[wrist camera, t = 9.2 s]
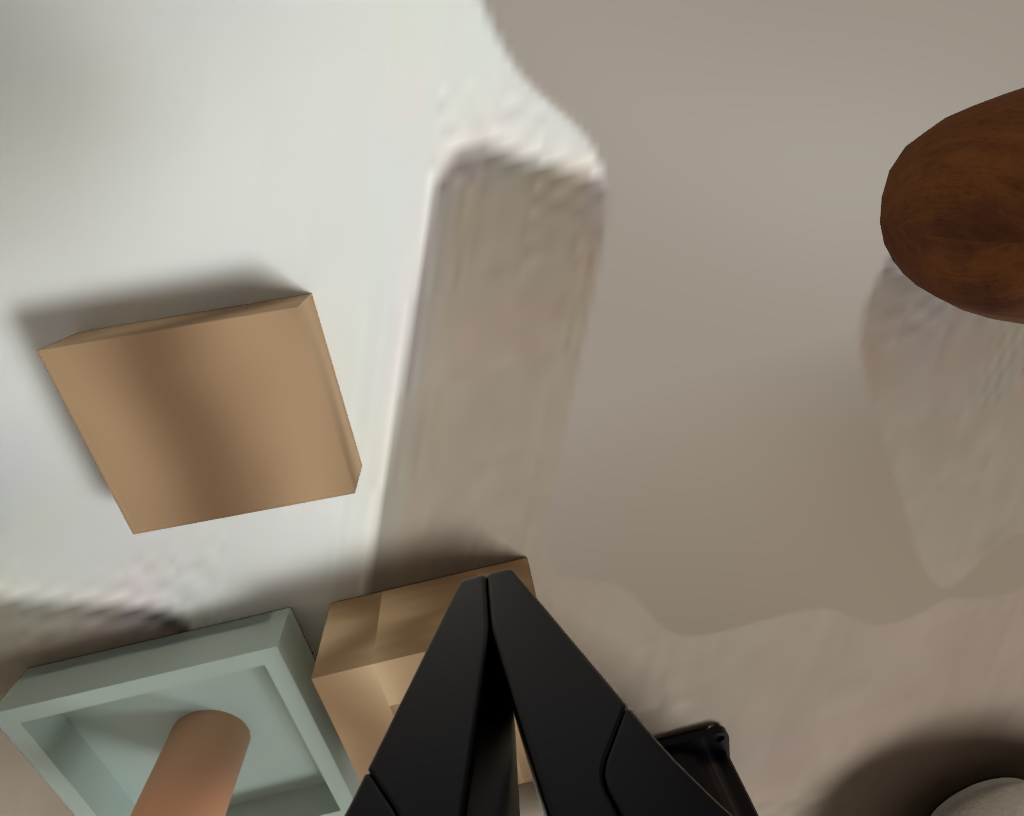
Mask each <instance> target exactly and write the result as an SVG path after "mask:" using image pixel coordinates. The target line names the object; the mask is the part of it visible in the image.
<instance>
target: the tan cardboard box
mask: <svg viewBox="0 0 1024 816" xmlns="http://www.w3.org/2000/svg"><path fill="white" fill-rule="evenodd" d="M37 352H38V354H39V355H40V357H41V359H42V361H43V363H44V365H45V367H46V369H47V371H48V373H49V375H50V376H51V378H52V380H53V382H54V384H55V386H56V388H57V390H58V392H59V394H60V396H61V397H62V399H63V401H64V403H65V405H66V407H67V409H68V411H69V413H70V415H71V417H72V418H73V420H74V422H75V424H76V426H77V428H78V430H79V432H80V434H81V436H82V438H83V440H84V441H85V443H86V445H87V447H88V449H89V451H90V453H91V455H92V457H93V459H94V461H95V462H96V464H97V466H98V468H99V470H100V472H101V474H102V476H103V478H104V480H105V482H106V483H107V485H108V487H109V489H110V491H111V493H112V495H113V497H114V499H115V501H116V503H117V504H118V506H119V508H120V510H121V512H122V514H123V516H124V518H125V520H126V522H127V524H128V525H129V527H130V529H131V531H132V533H133V534H138V533H143V532H149V531H154V530H160V529H165V528H170V527H176V526H181V525H186V524H192V523H197V522H203V521H208V520H213V519H219V518H224V517H229V516H235V515H240V514H245V513H251V512H256V511H262V510H267V509H272V508H278V507H283V506H288V505H294V504H299V503H305V502H310V501H315V500H321V499H326V498H331V497H337V496H342V495H347V494H353V493H355V490H356V487H357V483H358V479H359V475H360V472H361V468H362V463H361V460H360V456H359V453H358V450H357V446H356V443H355V439H354V436H353V432H352V429H351V426H350V422H349V419H348V415H347V412H346V409H345V405H344V402H343V398H342V395H341V392H340V388H339V385H338V381H337V378H336V375H335V371H334V368H333V364H332V361H331V357H330V354H329V351H328V347H327V344H326V340H325V337H324V334H323V330H322V327H321V323H320V320H319V317H318V313H317V310H316V306H315V303H314V299H313V296H312V293H311V294H305V295H299V296H293V297H287V298H281V299H275V300H269V301H263V302H257V303H251V304H245V305H239V306H233V307H227V308H221V309H215V310H209V311H203V312H197V313H191V314H186V315H180V316H174V317H168V318H162V319H156V320H150V321H144V322H138V323H132V324H126V325H120V326H114V327H108V328H102V329H96V330H90V331H84V332H78V333H76V334H74V335H71V336H69V337H67V338H65V339H62V340H60V341H58V342H56V343H53V344H51V345H49V346H47V347H45V348H42V349H40V350H38V351H37Z"/></svg>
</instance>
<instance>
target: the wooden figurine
mask: <svg viewBox="0 0 1024 816" xmlns="http://www.w3.org/2000/svg"><path fill="white" fill-rule="evenodd" d="M880 225H881V230H882V235H883V240H884V244H885V246H886V248H887V250H888V252H889V254H890V255H891V257H892V259H893V261H894V262H895V264H896V265H897V266H898V267H899V269H900V270H901V271H902V273H903V274H904V275H906V276H907V277H908V278H909V279H910V280H911V281H912V282H913V283H915V284H916V285H917V286H919V287H920V288H922V289H924V290H926V291H927V292H929V293H931V294H932V295H934V296H936V297H938V298H940V299H942V300H944V301H946V302H948V303H950V304H952V305H954V306H956V307H958V308H960V309H962V310H964V311H967V312H971V313H974V314H977V315H981V316H984V317H987V318H991V319H996V320H1002V321H1008V322H1014V323H1020V324H1024V88H1021V89H1018V90H1015V91H1012V92H1009V93H1006V94H1003V95H1001V96H998V97H996V98H993V99H990V100H988V101H985V102H982V103H980V104H977V105H974V106H972V107H969V108H967V109H965V110H963V111H960V112H958V113H956V114H953V115H951V116H949V117H947V118H945V119H944V120H942V121H940V122H939V123H938V124H936V125H935V126H933V127H932V128H931V129H929V130H928V131H926V132H925V133H923V134H922V135H921V136H919V137H918V138H917V139H915V140H914V141H913V142H911V143H910V144H909V145H907V146H906V147H905V149H904V150H903V151H902V153H901V154H900V156H899V157H898V159H897V160H896V162H895V163H894V165H893V166H892V168H891V169H890V171H889V174H888V178H887V181H886V185H885V189H884V192H883V195H882V204H881V217H880Z"/></svg>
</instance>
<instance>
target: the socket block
mask: <svg viewBox="0 0 1024 816" xmlns="http://www.w3.org/2000/svg"><path fill="white" fill-rule="evenodd" d="M505 569H512V570H513V571H514V572H515V573H516V574H517V575H518V577H519V578H520V579H521V580H522V581H523V583H524V584H525V585H526V586H527V587H528V589H529V590H530V591H531V592H532V593H533V595H534V596H535V597H536V594H535V590H534V585H533V581H532V576H531V572H530V568H529V563H528V559H527V558H523V559H519V560H514V561H510V562H506V563H501V564H497V565H493V566H489V567H484V568H480V569H476V570H472V571H467V572H463V573H459V574H455V575H450V576H446V577H442V578H438V579H433V580H429V581H425V582H420V583H416V584H412V585H408V586H403V587H399V588H395V589H391V590H386V591H382V592H378V593H374V594H369V595H365V596H361V597H357V598H352V599H348V600H344V601H339V602H335V603H331V604H330V607H329V611H328V615H327V619H326V623H325V627H324V631H323V635H322V639H321V643H320V647H319V651H318V655H317V658H316V662H315V666H314V670H313V674H312V678H311V679H312V681H313V683H314V686H315V688H316V690H317V692H318V694H319V696H320V698H321V700H322V702H323V704H324V706H325V708H326V710H327V713H328V715H329V717H330V719H331V721H332V723H333V725H334V727H335V729H336V731H337V733H338V735H339V737H340V740H341V742H342V744H343V746H344V748H345V750H346V752H347V754H348V756H349V758H350V760H351V762H352V764H353V767H354V769H355V771H356V773H357V775H358V777H359V779H360V781H361V782H362V780H363V777H364V776H365V775H366V774H369V772H368V768H369V766H370V764H371V762H372V760H373V758H374V756H375V754H376V752H377V750H378V748H379V746H380V744H381V742H382V740H383V738H384V736H385V734H386V732H387V729H388V727H389V725H390V723H391V721H392V719H393V717H394V715H395V713H396V711H397V709H398V707H399V705H400V703H401V701H402V699H403V697H404V695H405V693H406V691H407V689H408V687H409V685H410V683H411V681H412V679H413V677H414V675H415V673H416V671H417V669H418V667H419V665H420V662H421V660H422V658H423V656H424V654H425V652H426V650H427V648H428V646H429V644H430V642H431V640H432V638H433V636H434V634H435V632H436V630H437V628H438V626H439V624H440V622H441V620H442V618H443V616H444V614H445V612H446V610H447V608H448V606H449V604H450V602H451V600H452V598H453V595H454V593H455V591H456V589H457V587H458V585H459V583H460V582H461V581H462V580H463V579H467V578H471V577H475V576H479V575H485V576H486V577H487V576H488V574H489V573H492V572H496V571H501V570H505ZM514 718H515V716H514ZM515 731H516V749H517V769H518V785H519V784H523V783H527V782H531V781H533V778H532V775H531V772H530V768H529V765H528V761H527V758H526V754H525V751H524V748H523V744H522V741H521V737H520V734H519V730H518V727H517V723H516V719H515Z"/></svg>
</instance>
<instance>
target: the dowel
mask: <svg viewBox="0 0 1024 816" xmlns="http://www.w3.org/2000/svg"><path fill="white" fill-rule="evenodd" d="M250 738H251V736H250V731H249V729H248V727H247V725H246V724H245V723H244V722H243V721H242V720H241V719H239V718H238V717H236V716H234V715H232V714H230V713H227V712H223V711H217V710H201V711H196V712H192V713H189V714H187V715H185V716H183V717H182V718H180V719H179V720H178V721H177V722H176V723H175V724H174V726H173V728H172V730H171V732H170V734H169V736H168V738H167V740H166V742H165V744H164V746H163V748H162V750H161V753H160V755H159V757H158V759H157V761H156V763H155V765H154V767H153V769H152V771H151V773H150V775H149V777H148V779H147V782H146V784H145V786H144V788H143V790H142V792H141V794H140V796H139V798H138V800H137V802H136V804H135V806H134V809H133V811H132V813H131V815H130V816H225V815H226V812H227V809H228V806H229V803H230V800H231V797H232V794H233V791H234V788H235V785H236V782H237V779H238V776H239V773H240V770H241V767H242V764H243V761H244V758H245V755H246V752H247V749H248V746H249V743H250Z"/></svg>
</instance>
